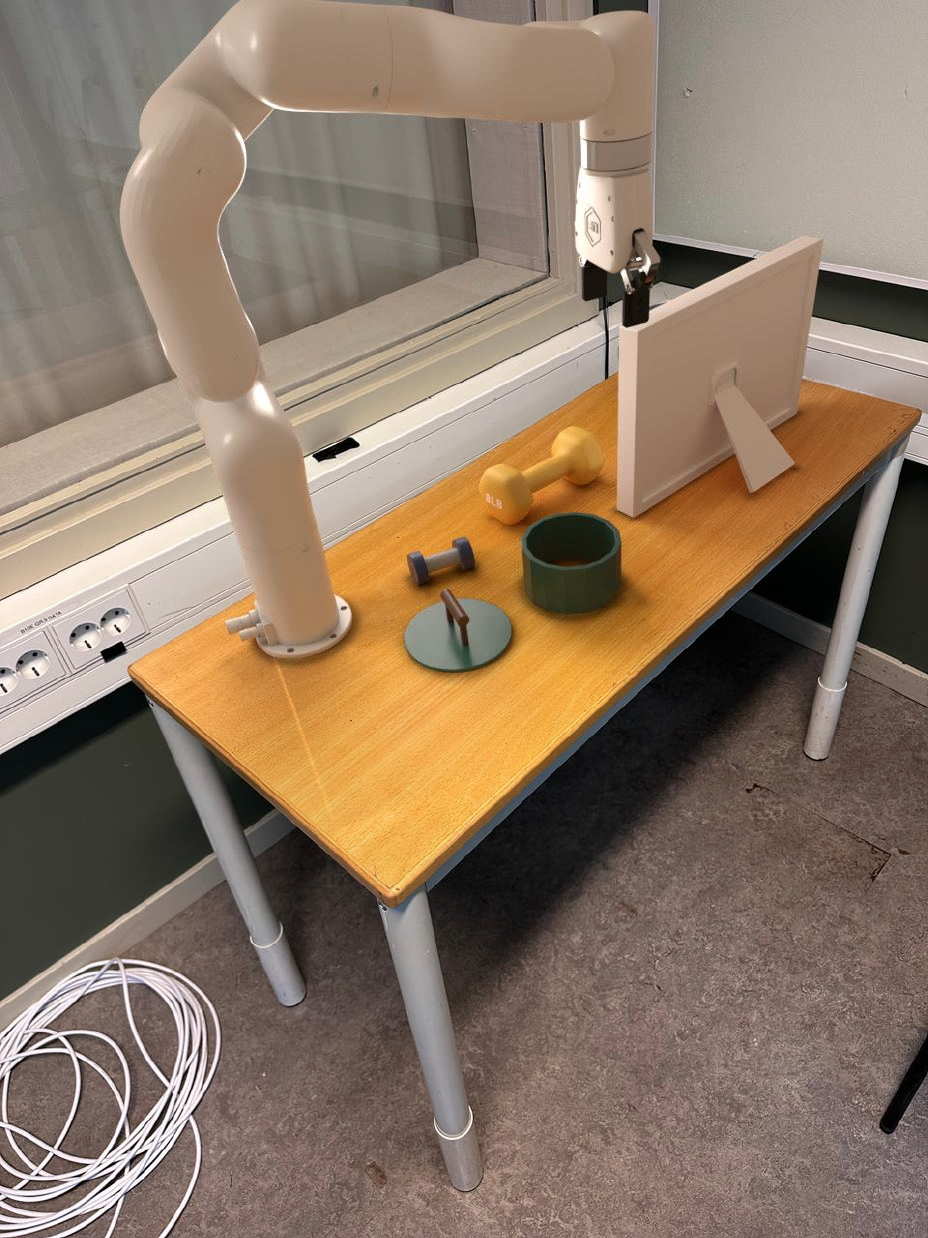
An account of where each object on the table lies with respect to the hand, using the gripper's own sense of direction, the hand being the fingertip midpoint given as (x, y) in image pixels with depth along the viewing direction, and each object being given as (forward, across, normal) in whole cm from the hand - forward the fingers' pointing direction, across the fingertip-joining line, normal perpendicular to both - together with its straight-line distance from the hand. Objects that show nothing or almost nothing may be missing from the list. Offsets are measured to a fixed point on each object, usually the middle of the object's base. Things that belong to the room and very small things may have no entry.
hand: (614, 310), depth 105 cm
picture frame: (+31, -4, +24) cm, 40 cm away
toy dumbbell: (+31, -2, -25) cm, 40 cm away
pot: (+31, +9, -11) cm, 34 cm away
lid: (+31, +12, -28) cm, 43 cm away
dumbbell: (+31, -12, -5) cm, 34 cm away
